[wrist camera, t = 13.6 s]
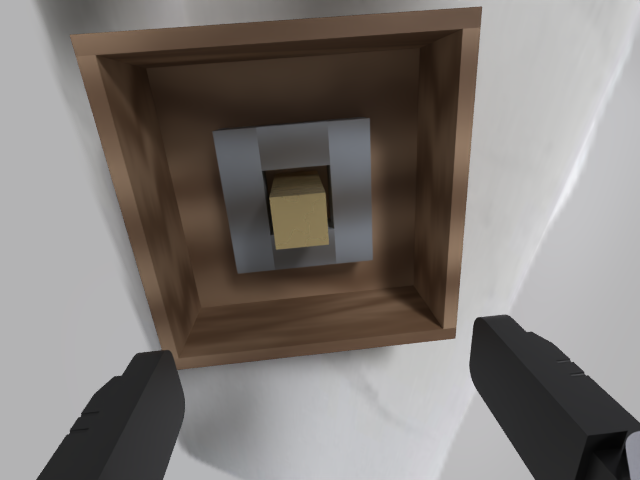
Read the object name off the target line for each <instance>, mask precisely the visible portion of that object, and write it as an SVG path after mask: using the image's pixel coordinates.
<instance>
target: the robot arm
mask: <svg viewBox="0 0 640 480" xmlns="http://www.w3.org/2000/svg"><path fill="white" fill-rule="evenodd" d="M469 367H470V374H471V378H472V381H473V383H474V386H475V387H476V389H477V391H478V392H479V394H480V395H481V397H482V398H483V400H484V402H485V403H486V405H487V406H488V408H489V409H490V411H491V412H492V414H493V415H494V417H495V418H496V420H497V421H498V423H499V425H500V426H501V427H502V429H503V431H504V432H505V434H506V435H507V437H508V438H509V440H510V441H511V443H512V444H513V446H514V448H515V449H516V451H517V452H518V454H519V455H520V457H521V459H522V460H523V461H524V463H525V465H526V466H527V468H528V469H529V471H530V472H531V474H532V475H533V477H534V479H535V480H640V423H639V422H638V421H637V420H636V419H635V418H634V417H633V416H632V415H631V414H630V413H628V412H627V411H626V410H625V409H624V408H623V407H622V406H621V405H620V404H619V403H618V402H616V401H615V400H614V399H613V398H612V397H611V396H610V395H609V394H608V393H607V392H606V391H604V390H603V389H602V388H601V387H600V386H599V385H598V384H597V383H596V382H595V381H594V380H592V379H591V378H590V377H589V376H586V375H585V374H584V371H583V370H582V369H580V368H579V367H578V366H577V365H576V364H575V363H574V362H571V361H570V358H568V357H567V356H566V355H565V354H564V353H563V352H562V351H561V350H560V349H559V348H558V347H556V346H555V345H554V344H553V343H551V342H549V341H548V340H546V339H544V338H542V337H540V336H538V335H537V334H535V333H533V332H526V331H524V329H523V328H522V327H521V326H520V325H519V324H518V323H516V321H515V320H513V319H512V318H511V317H510V316H508V315H497V316H487V317H478V318H476V320H475V322H474V326H473V335H472V344H471V353H470V363H469ZM184 412H185V398H184V393H183V389H182V386H181V382H180V379H179V375H178V372H177V368H176V364H175V361H174V357H173V355H172V353H171V351H170V350H161V351H152V352H143V353H137V354H136V355H135V356H134V357H133V359H132V360H131V362H130V363H129V365H128V367H127V368H126V370H125V371H124V373H123V375H122V376H115V377H113V378H112V379H111V380H110V381H109V382H107V383H106V384H105V385H104V386H103V387H102V388H101V389H100V390H98V391H97V392H96V393H95V394H94V395H93V397H92V398H91V400H90V401H89V403H88V404H87V406H86V407H85V409H84V410H83V412H82V413H81V417H79V418H78V419H77V420H76V422H75V424H74V425H73V426H72V428H71V429H70V434H69V435H66V437H65V438H64V440H63V441H62V443H61V444H60V445H59V447H58V449H57V450H56V451H55V453H54V454H53V456H52V458H51V459H50V460H49V462H48V463H47V465H46V466H45V468H44V469H43V471H42V472H41V474H40V475H39V476H38V478H37V479H36V480H163V478H164V475H165V472H166V469H167V466H168V463H169V460H170V457H171V454H172V451H173V448H174V446H175V443H176V440H177V437H178V434H179V431H180V428H181V425H182V422H183V418H184Z"/></svg>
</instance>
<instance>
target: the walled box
mask: <svg viewBox="0 0 640 480" xmlns="http://www.w3.org/2000/svg"><path fill="white" fill-rule="evenodd" d="M481 14H482V7H469V8H454V9H439V10H425V11H410V12H396V13H381V14H366V15H352V16H337V17H323V18H308V19H293V20H279V21H264V22H250V23H235V24H220V25H206V26H191V27H177V28H162V29H147V30H133V31H118V32H104V33H89V34H74V35H70V38H71V41H72V45H73V48H74V52H75V55H76V58H77V62H78V65H79V69H80V72H81V75H82V79H83V82H84V86H85V89H86V92H87V96H88V99H89V103H90V106H91V110H92V113H93V116H94V120H95V123H96V127H97V130H98V133H99V137H100V140H101V144H102V147H103V151H104V154H105V157H106V161H107V164H108V168H109V171H110V174H111V178H112V181H113V185H114V188H115V191H116V195H117V198H118V202H119V205H120V209H121V212H122V215H123V219H124V222H125V226H126V229H127V232H128V236H129V239H130V243H131V246H132V249H133V253H134V256H135V260H136V263H137V267H138V270H139V273H140V277H141V280H142V284H143V287H144V290H145V294H146V297H147V301H148V304H149V308H150V311H151V314H152V318H153V321H154V325H155V328H156V331H157V335H158V338H159V342H160V345H161V348H162V350H170V351H171V353H172V355H173V357H174V361H175V364H176V368H177V370H180V369H189V368H198V367H207V366H216V365H224V364H233V363H242V362H251V361H260V360H269V359H278V358H287V357H295V356H304V355H313V354H322V353H331V352H340V351H349V350H357V349H366V348H375V347H384V346H393V345H402V344H411V343H419V342H428V341H437V340H446V339H455V336H456V324H457V312H458V299H459V287H460V274H461V262H462V250H463V237H464V225H465V212H466V200H467V188H468V175H469V163H470V151H471V138H472V126H473V113H474V101H475V89H476V76H477V64H478V51H479V39H480V27H481ZM311 170H317V173H318V175H319V178H320V180H321V183H322V185H323V188H324V190H325V193H326V207H327V222H328V236H329V245H319V246H309V247H298V248H288V249H278V250H276V246H275V238H274V230H273V222H272V215H271V207H270V199H269V197H270V193H271V188H272V184H273V180H274V176H275V174H277V173H288V172H300V171H311Z"/></svg>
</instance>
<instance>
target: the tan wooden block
mask: <svg viewBox="0 0 640 480" xmlns="http://www.w3.org/2000/svg"><path fill="white" fill-rule="evenodd" d="M269 199H270V207H271V215H272V222H273V230H274V238H275V246H276V250H278V249H288V248H298V247H309V246H319V245H329V236H328V222H327V207H326V193H325V190H324V188H323V185H322V183H321V180H320V178H319V175H318V173H317V170H311V171H300V172H288V173H277V174H275V176H274V180H273V184H272V188H271V193H270V197H269Z"/></svg>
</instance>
